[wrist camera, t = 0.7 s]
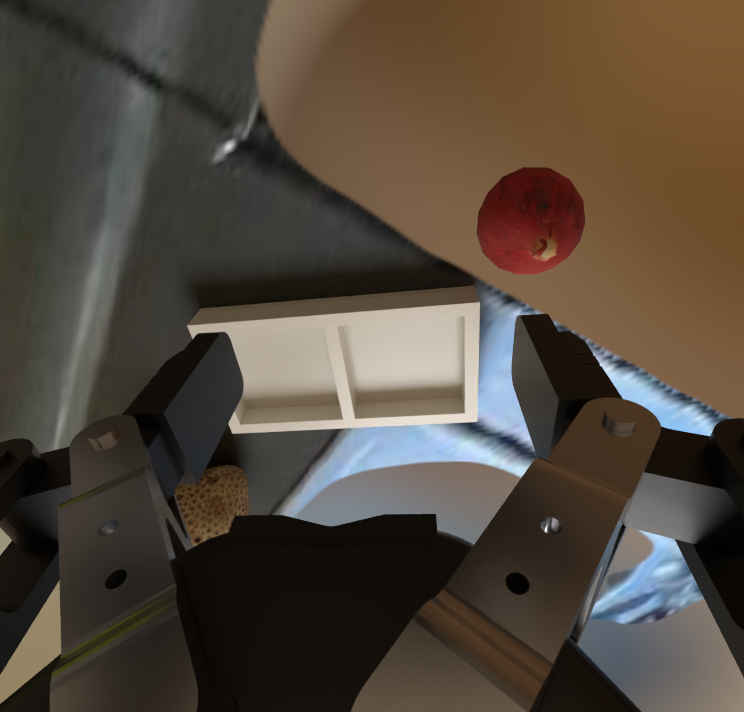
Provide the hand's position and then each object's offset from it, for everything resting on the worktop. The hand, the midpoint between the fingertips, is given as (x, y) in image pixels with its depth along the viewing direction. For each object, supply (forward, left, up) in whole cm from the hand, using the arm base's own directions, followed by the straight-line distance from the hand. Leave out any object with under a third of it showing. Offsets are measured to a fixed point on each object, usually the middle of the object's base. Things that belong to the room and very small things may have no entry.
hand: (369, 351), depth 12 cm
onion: (+2, +8, -19) cm, 21 cm away
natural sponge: (+26, -20, -19) cm, 38 cm away
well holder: (+13, -5, -19) cm, 24 cm away
